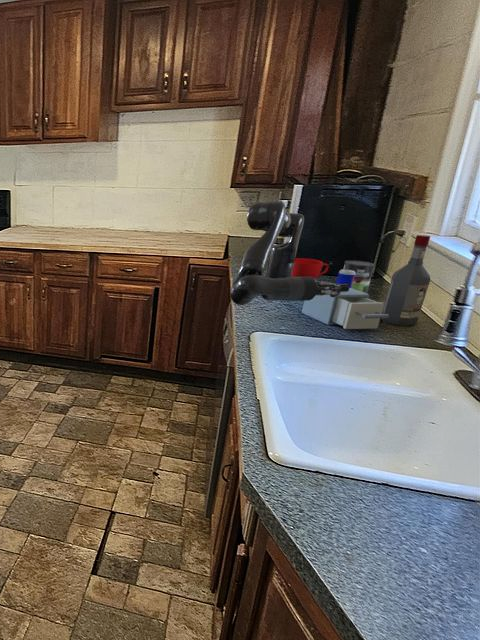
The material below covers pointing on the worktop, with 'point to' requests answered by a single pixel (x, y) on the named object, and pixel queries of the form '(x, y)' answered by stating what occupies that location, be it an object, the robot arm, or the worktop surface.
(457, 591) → the worktop surface
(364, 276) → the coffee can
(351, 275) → the beverage can
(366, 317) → the drawer
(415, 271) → the liquor
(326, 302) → the cabinet
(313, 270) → the ceramic cup
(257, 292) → the robot arm
